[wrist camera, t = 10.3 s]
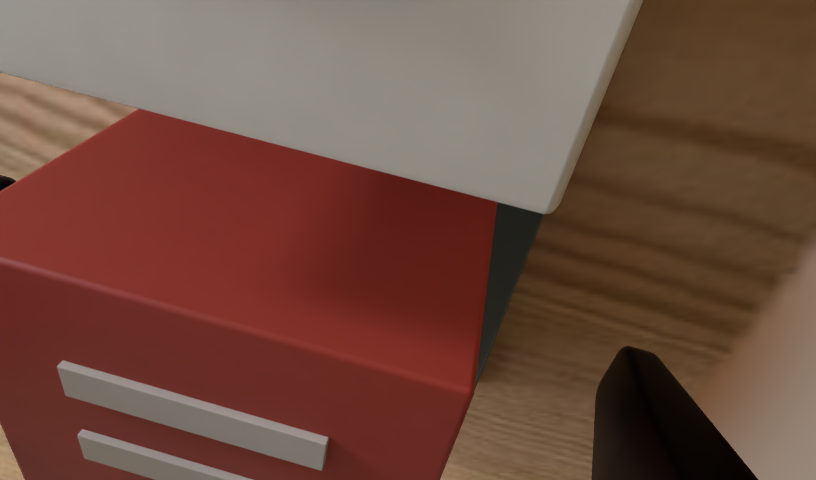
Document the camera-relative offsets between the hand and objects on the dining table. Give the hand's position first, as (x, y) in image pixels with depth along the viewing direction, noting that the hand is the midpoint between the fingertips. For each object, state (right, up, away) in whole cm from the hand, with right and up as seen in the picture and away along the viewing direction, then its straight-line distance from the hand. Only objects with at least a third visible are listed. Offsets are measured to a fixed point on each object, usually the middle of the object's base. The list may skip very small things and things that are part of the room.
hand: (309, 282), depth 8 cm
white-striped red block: (0, +1, +1) cm, 1 cm away
